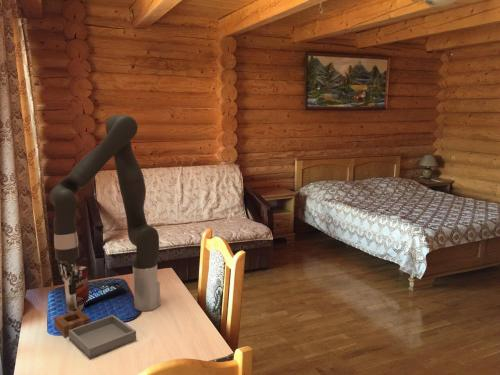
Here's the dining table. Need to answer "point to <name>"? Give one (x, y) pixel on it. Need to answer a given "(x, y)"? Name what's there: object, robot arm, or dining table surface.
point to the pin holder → (70, 321)
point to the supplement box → (81, 289)
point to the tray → (102, 336)
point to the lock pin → (69, 296)
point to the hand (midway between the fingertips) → (70, 292)
